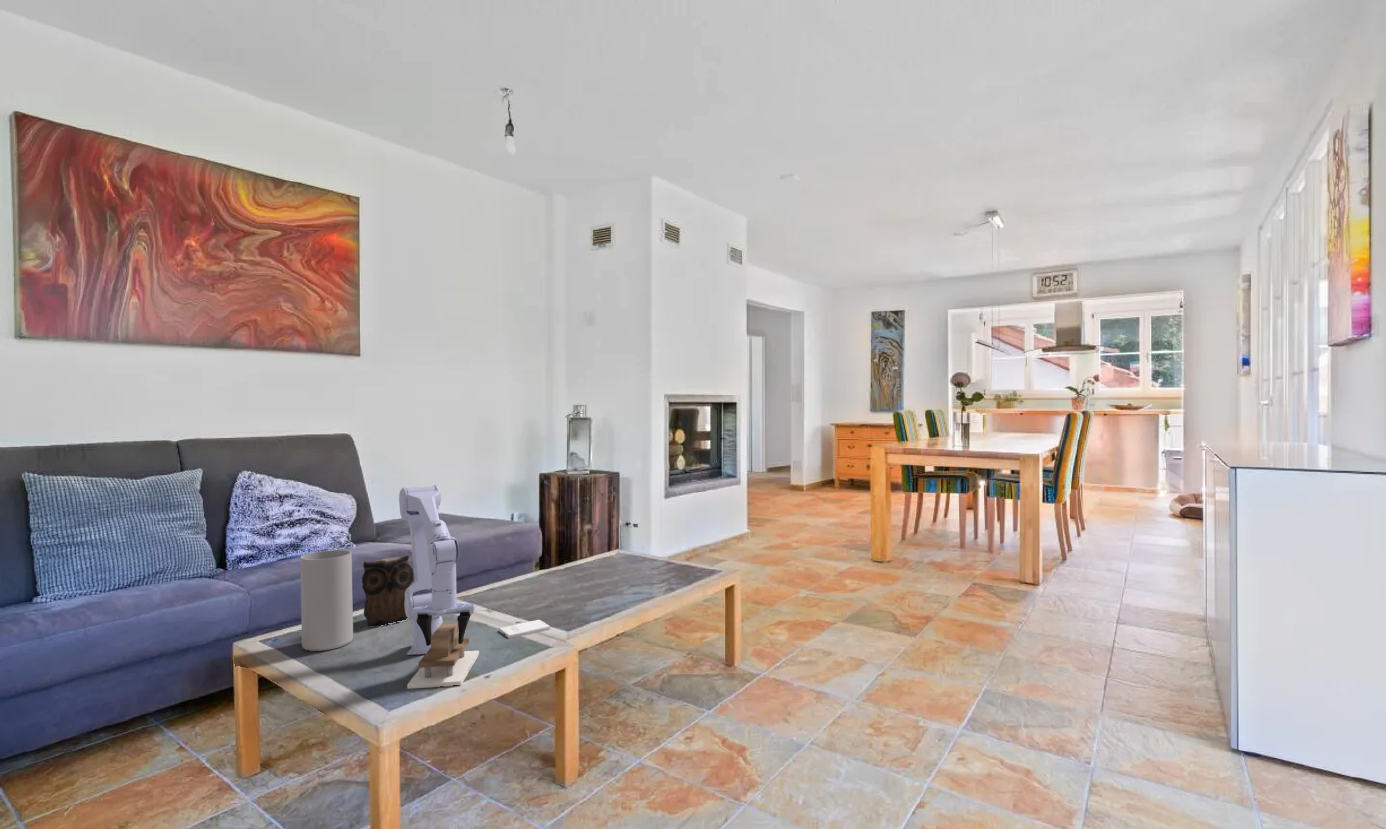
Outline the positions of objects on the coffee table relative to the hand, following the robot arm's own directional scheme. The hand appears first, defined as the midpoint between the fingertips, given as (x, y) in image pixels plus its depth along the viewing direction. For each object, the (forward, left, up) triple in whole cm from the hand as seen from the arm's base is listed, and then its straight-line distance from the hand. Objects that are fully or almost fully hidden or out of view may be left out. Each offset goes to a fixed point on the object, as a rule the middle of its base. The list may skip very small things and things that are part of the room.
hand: (445, 643), depth 163 cm
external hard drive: (-28, +15, -8) cm, 33 cm away
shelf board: (0, 0, -3) cm, 3 cm away
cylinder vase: (-25, -38, -7) cm, 46 cm away
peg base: (0, 0, -7) cm, 7 cm away
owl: (-45, -28, -7) cm, 53 cm away
